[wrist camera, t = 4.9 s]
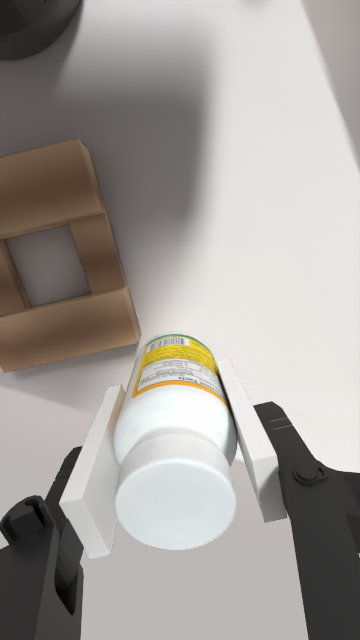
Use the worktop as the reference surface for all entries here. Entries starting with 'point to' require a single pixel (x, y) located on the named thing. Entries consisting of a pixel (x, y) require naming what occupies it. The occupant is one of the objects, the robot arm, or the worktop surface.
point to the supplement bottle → (175, 447)
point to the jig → (93, 248)
